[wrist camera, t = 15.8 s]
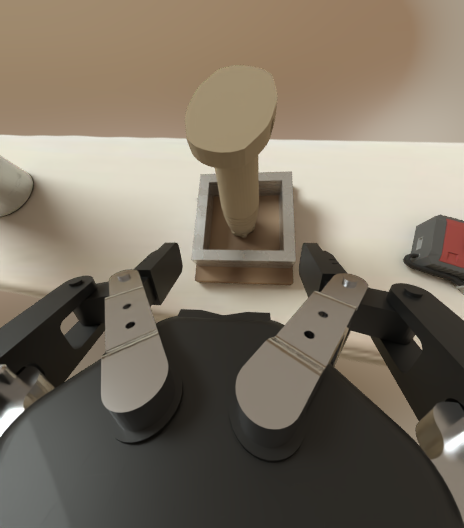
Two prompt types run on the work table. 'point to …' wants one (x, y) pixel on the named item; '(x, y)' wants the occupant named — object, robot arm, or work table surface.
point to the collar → (246, 258)
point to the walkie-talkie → (439, 249)
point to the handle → (233, 136)
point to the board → (246, 247)
